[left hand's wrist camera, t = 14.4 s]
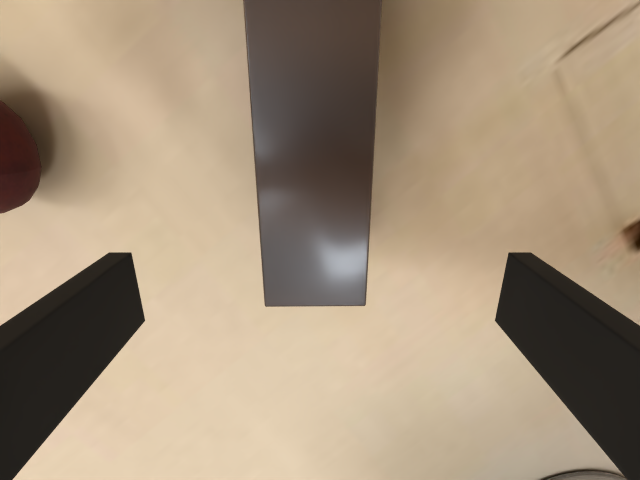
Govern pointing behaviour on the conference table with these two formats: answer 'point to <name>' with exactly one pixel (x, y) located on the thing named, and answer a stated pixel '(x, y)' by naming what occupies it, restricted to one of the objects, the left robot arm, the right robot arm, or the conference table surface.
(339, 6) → the walnut beam
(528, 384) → the conference table surface
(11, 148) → the dark red ball
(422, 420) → the conference table surface
